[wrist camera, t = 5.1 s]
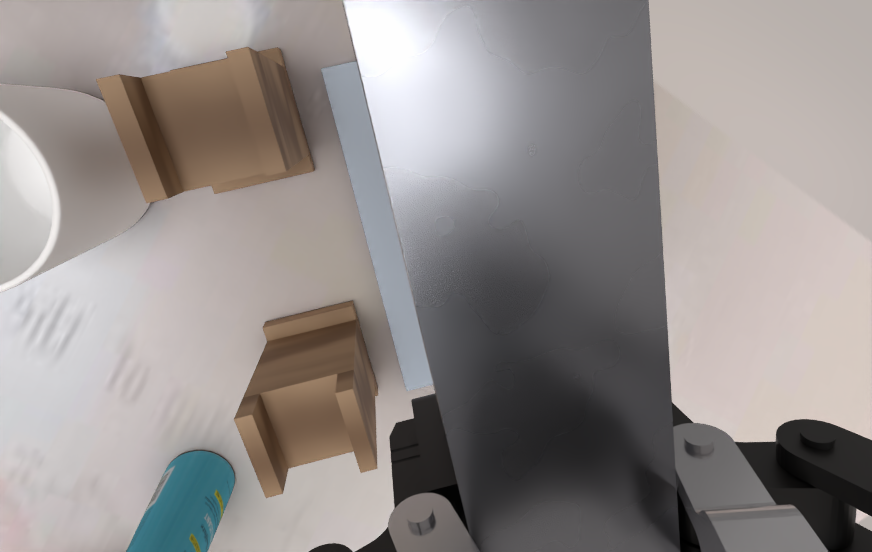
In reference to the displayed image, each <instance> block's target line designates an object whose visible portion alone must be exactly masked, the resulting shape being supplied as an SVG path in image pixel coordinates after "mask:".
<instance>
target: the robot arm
mask: <svg viewBox="0 0 872 552" xmlns="http://www.w3.org/2000/svg"><path fill="white" fill-rule="evenodd" d="M412 407H413V413H414V419H410V420H406V421H402V422H398V423H396V425H395V427H394V429H393V431H392V433H391V435H390V450H391V462H392V477H393V491H394V504H395V509H394V510H393V512H392V513H391V515H390V518H389V522H388V528H387V529H386V530H385V531H384V532H383V533H382V534H381V535H380V536H379V537H378V538H377V539H376V540H374V541H373V542H371V543H369V544H368V545H366V546H364V547H362V548H361V549H359V550H357V551H355V552H480V551H479V550H478V548H477V546H476V545H475V543H474V541H473V540H472V538H471V536H470V535H469V530H468V526H467V522H466V518H465V514H464V509H463V505H462V501H461V497H460V493H459V488H458V484H457V480H456V476H455V472H454V468H453V464H452V460H451V456H450V452H449V447H448V443H447V439H446V435H445V431H444V427H443V423H442V419H441V415H440V411H439V407H438V403H437V398H436V394H432V395H428V396H424V397H420V398H416V399H412ZM672 416H673V433H674V450H675V468H676V485H677V502H678V519H679V537H680V552H872V531H870V530H868V529H866V528H864V527H863V526H861V525H859V524H857V523H855V519H856V508H857V509H859V510H860V511H862V512H864V513H866V514H868V515H870V516H872V440H870V439H867V438H865V437H863V436H860V435H858V434H855V433H853V432H850V431H848V430H846V429H843V428H841V427H838V426H836V425H833V424H830V423H826V422H823V421H817V420H809V419H801V420H793V421H789V422H786V423H784V424H782V425H781V426H780V427H779V428H778V429H777V432H776V442H734V440H733V439H732V438H731V437H730V436H729V435H728V434H727V433H725V432H724V431H722V430H720V429H718V428H716V427H713V426H710V425H706V424H700V423H693V422H692V421H691V420H690V419H689V418H688V417H687V416H686V415H685V414H684V413H683V412H682V411H680V410H679V409H678V408H677V407H676V406H675V405H674V404H673V403H672ZM309 552H352V551H351V550H350V549H349V548H348V547H346V546H345V545H341V544H336V543H333V544H325V545H321V546H318V547H316V548H314V549H312V550H310V551H309Z"/></svg>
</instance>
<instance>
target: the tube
mask: <svg viewBox="0 0 872 552" xmlns="http://www.w3.org/2000/svg"><path fill="white" fill-rule="evenodd" d="M234 483H235V476H234V472H233V470H232V468H231V466H230V465H229V463H228V462H227V461H226V460H225V459H223V458H222V457H220V456H219V455H217V454H215V453H212V452H207V451H193V452H188V453H185V454H182V455H180V456H178V457H177V458H175V459H174V460H173V461H172V462H171V463H170V464H169V466H168V467H167V469H166V471H165V473H164V475H163V476H162V479H161V481H160V483H159V485H158V487H157V489H156V491H155V493H154V495H153V497H152V499H151V501H150V503H149V505H148V507H147V509H146V511H145V514H144V516H143V518H142V520H141V522H140V524H139V526H138V528H137V530H136V532H135V535H134V537H133V539H132V541H131V543H130V545H129V547H128V549H127V551H126V552H207V551H208V549H209V546H210V544H211V542H212V539H213V537H214V534H215V532H216V530H217V527H218V525H219V523H220V520H221V518H222V515H223V513H224V510H225V508H226V505H227V503H228V500H229V498H230V495H231V493H232V490H233V487H234Z"/></svg>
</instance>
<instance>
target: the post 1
mask: <svg viewBox="0 0 872 552" xmlns="http://www.w3.org/2000/svg"><path fill="white" fill-rule="evenodd" d="M226 54H227V58H226V59H221V60H217V61H212V62H207V63H203V64H198V65H193V66H189V67H184V68H179V69H175V70H170V72H165V73H161V74H156V75H151V76H147V77H142V78H139V77H132V76H126V75H114V76H110V77H105V78H100V79H96V81H97V83H98V86H99V88H100V91H101V93H102V96H103V98H104V101H105V103H106V105H107V108H108V110H109V113H110V115H111V118H112V120H113V123H114V125H115V128H116V130H117V133H118V135H119V137H120V140H121V142H122V145H123V147H124V150H125V152H126V155H127V157H128V160H129V162H130V165H131V167H132V169H133V172H134V174H135V177H136V179H137V182H138V184H139V187H140V189H141V192H142V194H143V197H144V199H145V201H146V203H151V202H155V201H159V200H164V199H168V198H170V197H172V196H175V195H177V194H179V193H182V192H184V191H189V190H193V189H197V188H202V187H206V186H210V185H211V186H212V188H213V191H214V194H217V193H222V192H226V191H230V190H235V189H239V188H243V187H248V186H252V185H256V184H261V183H265V182H270V181H274V180H278V179H283V178H287V177H291V176H296V175H300V174H304V173H309V172H313V171H314V170H315V168H314V165H313V161H312V158H311V154H310V151H309V147H308V144H307V140H306V137H305V133H304V130H303V126H302V123H301V119H300V116H299V112H298V109H297V105H296V102H295V98H294V95H293V91H292V88H291V85H290V81H289V78H288V74H287V71H286V67H285V64H284V60H283V57H282V53H281V50H280V49H279V48H278V47H277V48H273V49H268V50H263V51H259V52H256V51H255V50H253V49H251V48H249V47H246V48H241V49H236V50H231V51H227V52H226Z"/></svg>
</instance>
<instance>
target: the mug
mask: <svg viewBox="0 0 872 552" xmlns="http://www.w3.org/2000/svg"><path fill="white" fill-rule="evenodd" d="M149 205H150V203H146V201H145V199H144V197H143V194H142V192H141V189H140V187H139V184H138V182H137V179H136V177H135V174H134V172H133V169H132V167H131V165H130V162H129V160H128V157H127V155H126V152H125V150H124V147H123V145H122V142H121V140H120V137H119V135H118V133H117V130H116V128H115V125H114V123H113V120H112V118H111V115H110V113H109V110H108V108H107V105H106V103H105V102H104V101H102V100H100V99H98V98H96V97H93V96H91V95H88V94H86V93H82V92H78V91H74V90H68V89H61V88H52V87H40V86H27V85H14V84H2V83H0V292H3V291H6V290H9V289H11V288H13V287H15V286H18V285H20V284H22V283H24V282H26V281H28V280H30V279H32V278H34V277H36V276H38V275H40V274H42V273H44V272H46V271H48V270H50V269H52V268H54V267H56V266H58V265H60V264H62V263H64V262H66V261H68V260H70V259H72V258H74V257H76V256H78V255H80V254H82V253H84V252H86V251H88V250H90V249H92V248H94V247H96V246H98V245H100V244H102V243H104V242H106V241H108V240H110V239H112V238H114V237H116V236H118V235H120V234H121V233H123V232H125V231H126V230H128V229H129V228H130V227H132V226H133V225H134V224H135V223H137V221H138V220H139V219H140V218H141V217H142V216H143V215H144V213H145V212H146V210H147V208H148V207H149Z"/></svg>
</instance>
